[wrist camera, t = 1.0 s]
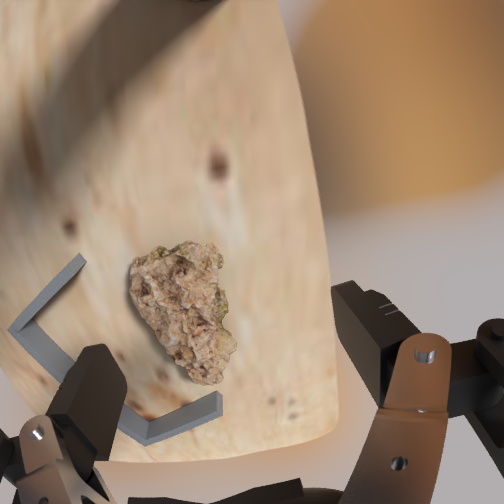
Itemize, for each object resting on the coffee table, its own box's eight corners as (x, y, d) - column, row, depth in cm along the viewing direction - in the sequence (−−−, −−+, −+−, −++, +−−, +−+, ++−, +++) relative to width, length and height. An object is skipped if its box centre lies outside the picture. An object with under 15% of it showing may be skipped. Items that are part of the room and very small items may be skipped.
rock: (278, 360, 33) (199, 401, 31) (263, 336, 37) (192, 373, 36) (211, 228, 26) (108, 284, 24) (201, 215, 30) (114, 263, 29)
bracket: (79, 252, 29) (65, 266, 26) (222, 395, 38) (222, 415, 35) (19, 315, 31) (7, 330, 28) (148, 428, 40) (145, 446, 37)
